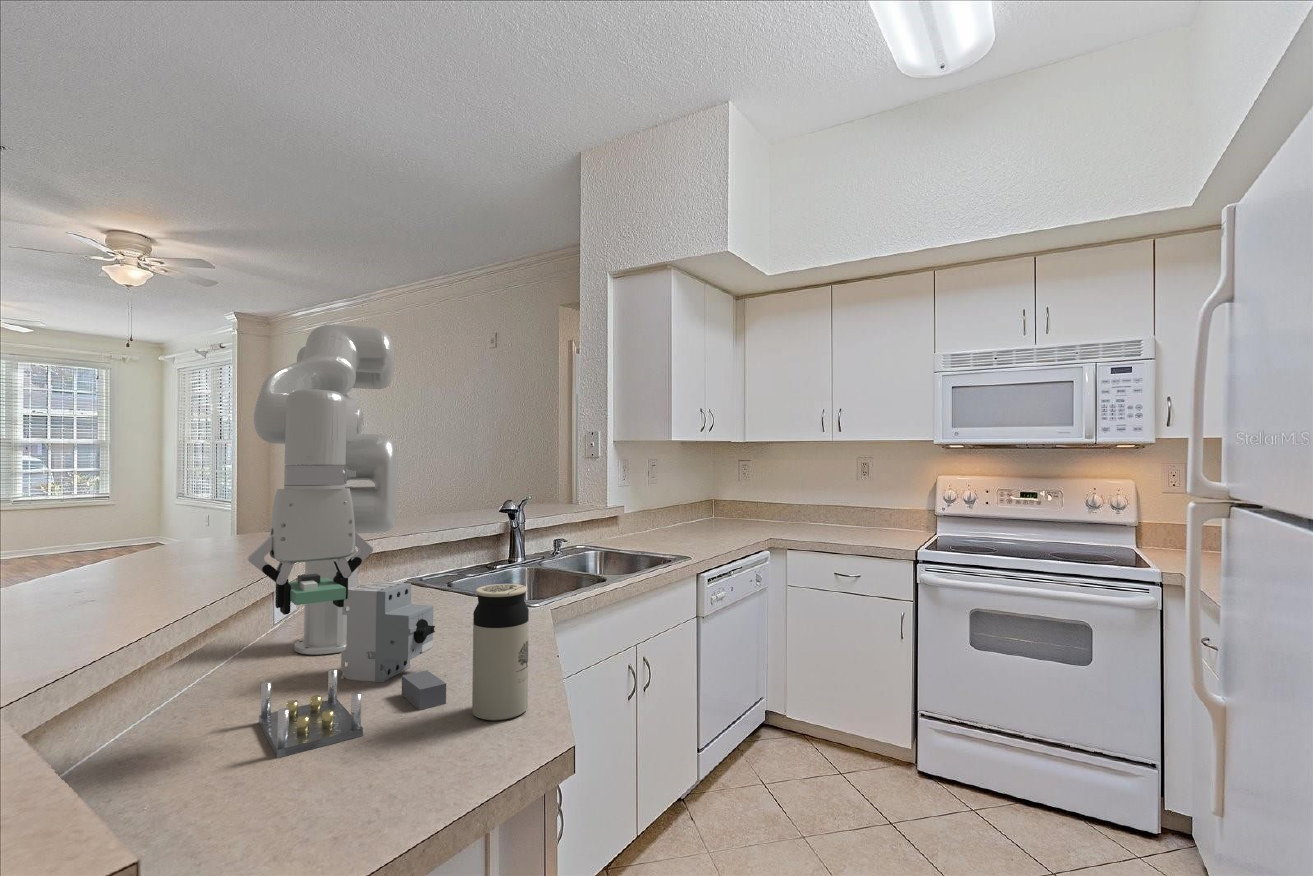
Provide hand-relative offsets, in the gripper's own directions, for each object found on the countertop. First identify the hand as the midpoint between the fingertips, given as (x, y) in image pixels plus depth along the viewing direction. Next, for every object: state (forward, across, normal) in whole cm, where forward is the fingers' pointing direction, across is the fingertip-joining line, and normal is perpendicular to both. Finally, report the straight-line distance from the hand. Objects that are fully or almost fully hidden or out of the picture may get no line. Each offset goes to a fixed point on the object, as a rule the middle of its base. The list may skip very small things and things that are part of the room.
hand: (312, 607), depth 88 cm
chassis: (+17, 0, 0) cm, 17 cm away
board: (-2, 0, 0) cm, 2 cm away
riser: (+16, -16, -1) cm, 23 cm away
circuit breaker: (+17, -16, -16) cm, 28 cm away
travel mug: (+17, -23, +11) cm, 31 cm away
